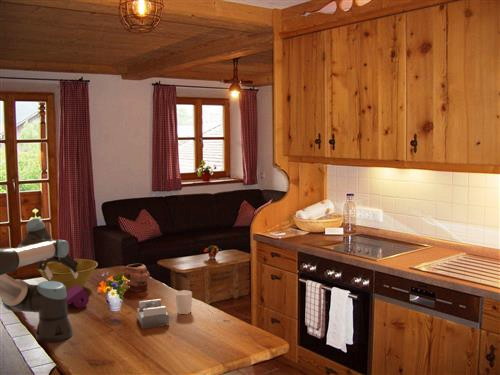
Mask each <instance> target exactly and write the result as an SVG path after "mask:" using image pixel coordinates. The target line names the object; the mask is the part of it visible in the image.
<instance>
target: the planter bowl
mask: <svg viewBox="0 0 500 375" xmlns="http://www.w3.org/2000/svg"><path fill="white" fill-rule="evenodd" d="M72 259H73V258H72ZM73 260H75V261H76V262H77V263H78V265H77V267H76V269H77V273H78V276H77V278H76V279H75V278H74V276H73V274H72V272H71V270H70V269H71V268H69V267H67V266H66V265H64V264H62V263H59V262H50V261H48V263H47V265H46V267H48V268H49V270H50V271H51V273H52V275H53V276H52V278H51V280H49V278H48V277H47V275H46V274H45V273H44V272H43V270H41V269H40V270H38V269H37V271H38V272H40V275H41V276H42V278H43V279H44V280H46V281H56V282H60V283H62V284H64V285H65V287H66V291H68V290H69V289H70V288H72V287H73V286H75V285H78V286H80V287H82V288H84V287H85V286H86V284H87V282H88V281H89V278H90V276H92V275H93V274H94V273H95V270H96V268H97V267H98V265H99V264H98V262H97V261H95V260H92V259H84V258H74V259H73ZM43 265H44V263H42V266H43Z"/></svg>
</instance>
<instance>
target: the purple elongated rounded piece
mask: <svg viewBox="0 0 500 375" xmlns="http://www.w3.org/2000/svg"><path fill="white" fill-rule="evenodd" d="M66 293H67V306H68V305H69V304H70V305H73V306H74V307H76V308H78V309H79V308H80V309H81V308H85V307H86V306H87V304H88V303H89V300H90V299H89V295H88V293H87V292H86V290H85V288H84V287H80V286H78V285H75V286H73V287H72V288H70V289H69V290H68V291H66Z"/></svg>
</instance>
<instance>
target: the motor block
mask: <svg viewBox="0 0 500 375" xmlns="http://www.w3.org/2000/svg"><path fill="white" fill-rule="evenodd" d="M136 311H137V312H136V313H137V317H136V318H137V321H138V323H139V325H140V327H141V328H142V330H143V329H150V328H151V327H152V328H157V327H156V326H159V327H162V326H161V325H166V326H168V325H167V324H169V325H170V317H169V313H168V312H167V307H166V306H165V305H162V299H161V298H158V299H157V298H156V299H149V300H141V301H139V306H138V307H137V309H136ZM152 328H151V329H152Z"/></svg>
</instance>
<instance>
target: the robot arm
mask: <svg viewBox="0 0 500 375" xmlns="http://www.w3.org/2000/svg"><path fill="white" fill-rule="evenodd" d="M25 228H26V229H25V230H26V231H27V232H26V234H25V236H24V237H23V238H22V240H21V241H20V243H19V244H18V246H17V247H14V248H13V247H8V246H7V247H0V298H1V303H2V305H3V307H4V308H5V309H6V310H8V311H11V312H14V313H15V312H22V313H23V312H24V313H25V312H27V313H38V324H37V327H36V331H35V339H36V341H37V342H40V343H57V342H61V341H64V340H67V339H69V338H70V337H72V336H73V332H74V331H73V327H72V324H71V321H70V319H69V314H68V305H67V293H66V287H65V285H64V284H62V283H60V282H56V281H48V280H46V281H41V282H39V283H38V284H31V283H30V284H29V283H28V282H26V281H24V280H23V279H19V278H17V279H14V278H13V277H12V276H9V275H8V274H10V273H13V272H15V271H16V270H18V268H22V267H23V266H27V265H28V266H29V265H31V264H35V263H37V268H36V269H37V271H38V270H40V269H41V270H43V272H44V273H45V274H46V275H47V277H48V278H49V280H51V278H52V276H53V275H52V273H51V271H50V270H49V268H48V267H46V265H47V263H49V262H59V263H62V264H64V265H66V266H67V267H69V268H71V269H70V270H71V272H72V274H73V276H74V278H75V279H76V278H77V276H78V273H77V269H76V267H77V265H78V263H77V262H76V261H75V260H73V258H72V256H70V255H68V254H69V251H70V245H69V242H68V241H67V240H66V239H65V240H64V239H53V238H52V235H51V234H50V233H49V230H48V228H47V227H46V224H45V223H44V221H43V220H42V219H41V218H40V217H37V218H32V219H30V220H29V221H27V223H26V224H25ZM43 261H44V262H43ZM43 264H44V265H43ZM42 265H43V266H42Z"/></svg>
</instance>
